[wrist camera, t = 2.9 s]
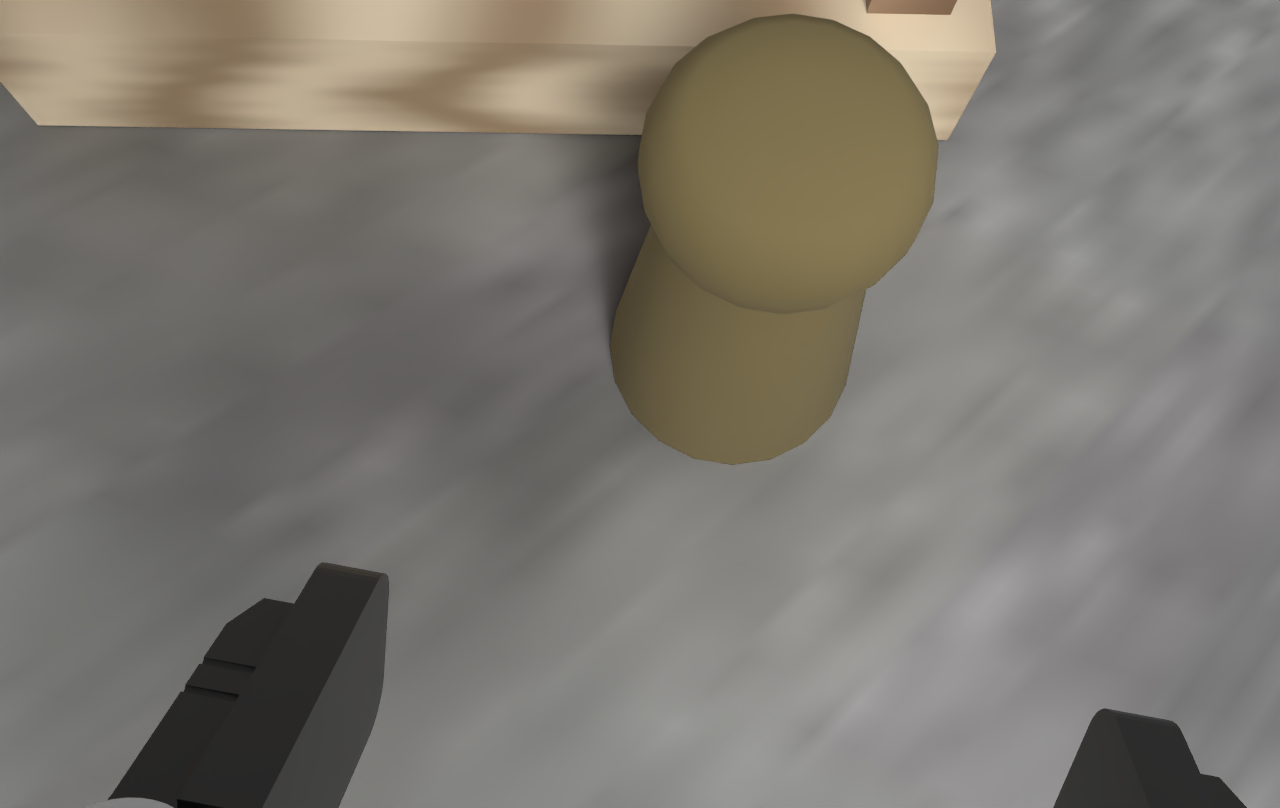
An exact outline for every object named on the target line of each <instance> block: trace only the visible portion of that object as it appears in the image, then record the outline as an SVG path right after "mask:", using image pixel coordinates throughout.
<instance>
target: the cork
mask: <svg viewBox="0 0 1280 808" xmlns="http://www.w3.org/2000/svg"><path fill="white" fill-rule="evenodd" d="M937 158H938V141H937V137H936V133H935V129H934V125H933V121H932V118H931V114H930V110H929V106H928V104H927V102H926V101H925V99H924V98H923V96H922V95H921V93H920V91H919V90H918V88H917V87H916V85H915V84H914V82H913V81H912V79H911V78H910V76H909V74H908V73H907V71H906V70H905V68H904V67H903V66H902V64H901V63H900V62H899V61H898V60H897V59H896V58H895V57H893V56H892V55H891V54H890V53H889V52H888V51H886V50H885V49H884V48H883V47H882V46H880V45H879V44H878V43H877V42H876V41H875V40H873V39H872V38H871V37H870V36H868V35H865V34H863V33H861V32H859V31H857V30H854V29H852V28H850V27H848V26H846V25H843V24H841V23H839V22H837V21H835V20H831V19H825V18H818V17H812V16H806V15H800V14H784V15H775V16H766V17H757V18H752V19H750V20H748V21H745V22H743V23H740V24H738V25H735V26H733V27H731V28H728V29H726V30H723V31H721V32H719V33H716V34H714V35H711V36H709V37H707V38H705V39H704V40H703V41H702V42H700V43H699V44H698V45H697V46H696V47H695V48H693V49H692V50H691V51H690V52H689V53H687V54H686V55H685V56H684V57H683V58H682V59H680V60H679V61H678V62H677V63H676V64H675V65H674V66H673V68H672V70H671V72H670V73H669V75H668V77H667V78H666V80H665V82H664V83H663V85H662V87H661V88H660V90H659V92H658V93H657V95H656V97H655V98H654V100H653V102H652V104H651V106H650V107H649V109H648V111H647V113H646V116H645V121H644V126H643V132H642V137H641V143H640V148H639V153H638V175H639V181H640V187H641V193H642V199H643V205H644V211H645V214H646V216H647V218H648V219H649V221H650V223H651V225H650V228H649V230H648V233H647V235H646V238H645V240H644V243H643V245H642V248H641V250H640V253H639V255H638V258H637V260H636V263H635V265H634V268H633V270H632V273H631V275H630V278H629V280H628V283H627V285H626V288H625V290H624V293H623V295H622V298H621V300H620V303H619V305H618V308H617V310H616V314H615V319H614V325H613V330H612V335H611V341H610V352H611V359H612V365H613V372H614V378H615V382H616V384H617V386H618V388H619V390H620V392H621V394H622V396H623V398H624V400H625V402H626V404H627V406H628V407H629V409H630V411H631V413H632V415H633V416H634V417H635V418H636V419H637V420H638V421H639V422H640V423H641V424H642V425H644V426H645V427H646V428H647V429H648V430H649V431H650V432H651V433H652V434H653V435H654V436H655V437H656V438H657V439H658V440H659V441H661V442H662V443H664V444H666V445H668V446H670V447H672V448H674V449H676V450H678V451H680V452H682V453H684V454H686V455H688V456H690V457H692V458H695V459H701V460H707V461H713V462H719V463H725V464H731V465H734V464H741V463H748V462H755V461H762V460H769V459H772V458H774V457H776V456H778V455H780V454H782V453H784V452H786V451H788V450H790V449H792V448H795V447H797V446H799V445H801V444H803V443H804V442H805V441H806V440H807V439H808V438H809V437H810V436H811V435H812V434H813V433H814V432H815V431H816V430H817V429H818V428H819V427H820V426H821V425H822V424H824V423H825V422H826V421H827V420H828V419H829V418H830V416H831V414H832V412H833V410H834V408H835V406H836V404H837V401H838V399H839V397H840V395H841V393H842V391H843V389H844V387H845V385H846V380H847V376H848V371H849V366H850V362H851V357H852V353H853V348H854V343H855V339H856V334H857V330H858V325H859V320H860V316H861V311H862V306H863V302H864V297H865V293H866V289H867V288H869V287H871V286H873V285H875V284H876V283H877V282H878V281H879V280H880V279H881V278H882V277H883V276H884V275H885V274H886V273H887V272H888V271H889V270H890V269H891V268H892V267H893V266H894V265H895V264H896V263H898V262H899V261H900V260H901V259H902V258H903V257H904V256H905V255H906V253H907V252H908V250H909V249H910V247H911V245H912V244H913V242H914V241H915V239H916V237H917V235H918V233H919V231H920V228H921V226H922V224H923V222H924V220H925V218H926V216H927V214H928V212H929V210H930V208H931V206H932V204H933V200H934V189H935V179H936V169H937Z"/></svg>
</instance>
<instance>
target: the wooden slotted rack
mask: <svg viewBox="0 0 1280 808" xmlns="http://www.w3.org/2000/svg"><path fill="white" fill-rule="evenodd" d="M784 14H800V15H806V16H812V17H818V18H825V19H831V20H835V21H837V22H839V23H841V24H843V25H846V26H848V27H850V28H852V29H854V30H857V31H859V32H861V33H863V34H865V35H868V36H870V37H871V38H872V39H873V40H875V41H876V42H877V43H878V44H879V45H880V46H882V47H883V48H884V49H885V50H886V51H888V52H889V53H890V54H891V55H892V56H893V57H895V58H896V59H897V60H898V61H899V62H900V63H901V64H902V66H903V67H904V68H905V70H906V71H907V73H908V74H909V76H910V78H911V79H912V81H913V82H914V84H915V85H916V87H917V88H918V90H919V91H920V93H921V95H922V96H923V98H924V99H925V101H926V102H927V104H928V106H929V110H930V114H931V118H932V121H933V125H934V129H935V133H936V137H937V140H948V138H949V137H950V135H951V133H952V131H953V129H954V127H955V126H956V124H957V122H958V120H959V118H960V117H961V115H962V113H963V111H964V109H965V107H966V106H967V104H968V102H969V100H970V98H971V97H972V95H973V93H974V91H975V89H976V88H977V86H978V84H979V82H980V80H981V78H982V77H983V75H984V73H985V71H986V69H987V68H988V66H989V64H990V62H991V60H992V58H993V57H994V55H995V53H996V47H995V38H994V29H993V19H992V10H991V1H990V0H0V82H1V83H2V84H3V85H4V86H5V88H6V89H7V90H8V91H9V92H10V93H11V94H12V96H13V97H14V98H15V99H16V100H17V101H18V103H19V104H20V105H21V106H22V107H23V108H24V109H25V111H26V112H27V113H28V114H29V115H30V116H31V118H32V119H33V120H34V121H35V122H36V123H37V124H38V125H56V126H118V127H179V128H241V129H303V130H365V131H426V132H488V133H550V134H612V135H642V132H643V126H644V121H645V116H646V113H647V111H648V109H649V107H650V106H651V104H652V102H653V100H654V98H655V97H656V95H657V93H658V92H659V90H660V88H661V87H662V85H663V83H664V82H665V80H666V78H667V77H668V75H669V73H670V72H671V70H672V68H673V66H674V65H675V64H676V63H677V62H678V61H679V60H680V59H682V58H683V57H684V56H685V55H686V54H687V53H689V52H690V51H691V50H692V49H693V48H695V47H696V46H697V45H698V44H699V43H700V42H702V41H703V40H704V39H705V38H707V37H709V36H711V35H714V34H716V33H719V32H721V31H723V30H726V29H728V28H731V27H733V26H735V25H738V24H740V23H743V22H745V21H748V20H750V19H752V18H757V17H766V16H775V15H784Z"/></svg>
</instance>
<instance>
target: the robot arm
mask: <svg viewBox="0 0 1280 808" xmlns="http://www.w3.org/2000/svg"><path fill="white" fill-rule="evenodd" d="M388 597H389V580H388V576H387V575H386V574H384V573H379V572H373V571H368V570H362V569H357V568H351V567H346V566H341V565H335V564H330V563H324V562H322V563H320V564H319V565H318V566H317V567H316V569H315V570H314V572H313V574H312V575H311V577H310V579H309V580H308V582H307V584H306V585H305V587H304V589H303V590H302V592H301V594H300V595H299V597H298V599H297V600H296V602H295V604H293V603H287V602H282V601H276V600H271V599H266V598H264V599H262V600H261V601H259V602H258V603H256V604H255V605H253V606H252V607H251V608H249V609H248V610H246V611H245V612H243V613H242V614H240V615H239V616H237V617H236V618H234V619H233V620H231V621H230V622H228V623H227V624H226V625H225V627H224V628H223V630H222V631H221V633H220V634H219V636H218V637H217V639H216V640H215V642H214V643H213V645H212V646H211V648H210V649H209V651H208V652H207V653H206V655H205V656H204V661H203V663H202V664H199V665H198V667H197V668H196V670H195V671H194V673H193V674H192V676H191V677H190V679H189V680H188V682H187V683H186V686H185V690H184V692H180V694H179V695H178V697H177V698H176V700H175V701H174V703H173V704H172V706H171V707H170V709H169V710H168V712H167V713H166V715H165V716H164V718H163V719H162V721H161V722H160V724H159V725H158V727H157V728H156V730H155V731H154V733H153V734H152V735H151V737H150V738H149V740H148V741H147V743H146V744H145V746H144V747H143V749H142V750H141V752H140V753H139V755H138V756H137V758H136V759H135V761H134V762H133V764H132V765H131V767H130V768H129V770H128V771H127V773H126V774H125V776H124V777H123V779H122V780H121V782H120V783H119V785H118V786H117V788H116V789H115V791H114V792H113V793H112V795H111V796H110V797H109V799H108V800H107V801H102V802H98V803H95V804H92V805H89V806H87V807H84V808H338V807H339V805H340V803H341V800H342V798H343V796H344V793H345V791H346V789H347V786H348V784H349V782H350V780H351V777H352V775H353V773H354V770H355V768H356V766H357V763H358V761H359V759H360V757H361V754H362V752H363V750H364V747H365V745H366V743H367V740H368V738H369V736H370V733H371V731H372V728H373V725H374V722H375V718H376V715H377V711H378V707H379V703H380V698H381V693H382V686H383V678H384V662H385V646H386V630H387V613H388ZM1054 808H1247V807H1246V806H1245V805H1244V804H1243V803H1242V802H1241V801H1240V800H1239V799H1238V798H1237V796H1236V795H1235V794H1234V793H1233V792H1232V791H1231V790H1230V789H1229V788H1228V787H1227V785H1226V784H1225V783H1224V782H1223V781H1222V780H1221V779H1220V778H1219V777H1215V776H1209V775H1204V774H1200V772H1199V769H1198V767H1197V765H1196V763H1195V760H1194V758H1193V756H1192V754H1191V752H1190V749H1189V747H1188V745H1187V743H1186V740H1185V738H1184V736H1183V734H1182V732H1181V730H1180V728H1179V727H1178V726H1177V724H1176V723H1174V722H1173V721H1170V720H1165V719H1159V718H1154V717H1148V716H1143V715H1138V714H1132V713H1127V712H1121V711H1116V710H1110V709H1101V710H1099V711H1098V712H1097V713H1096V714H1095V716H1094V717H1093V719H1092V720H1091V722H1090V725H1089V727H1088V729H1087V731H1086V734H1085V736H1084V738H1083V741H1082V743H1081V745H1080V747H1079V750H1078V752H1077V754H1076V757H1075V759H1074V761H1073V763H1072V766H1071V768H1070V770H1069V773H1068V775H1067V777H1066V780H1065V782H1064V784H1063V786H1062V789H1061V791H1060V793H1059V796H1058V798H1057V800H1056V802H1055V805H1054Z"/></svg>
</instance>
